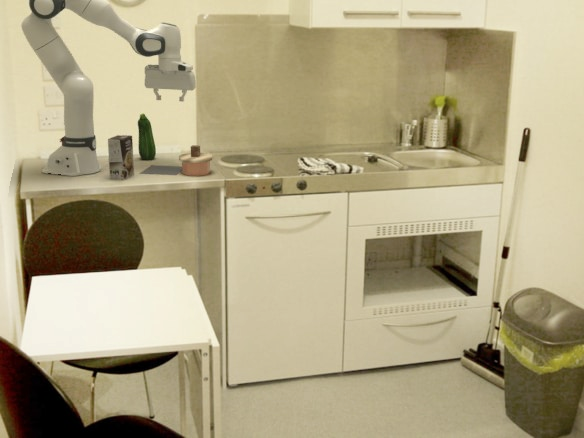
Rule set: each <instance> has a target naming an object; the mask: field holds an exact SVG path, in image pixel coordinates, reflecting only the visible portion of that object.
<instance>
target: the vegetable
mask: <svg viewBox="0 0 584 438" xmlns="http://www.w3.org/2000/svg"><path fill="white" fill-rule="evenodd" d="M137 127H138V153H139V156H140V158H141V160H144V161H152V160H154V159H156V158H155V157H156V154H157V153H156V152H157V151H156V150H157V149H156V144H155V139H154V133H153V128H152V124H151V121H150V120H149V119H148V117H147V116H146V114H145V113H141V114H139V119H138V120H137Z"/></svg>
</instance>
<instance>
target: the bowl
mask: <svg viewBox="0 0 584 438" xmlns="http://www.w3.org/2000/svg"><path fill="white" fill-rule="evenodd" d="M181 164H182V165H181V166H182V171H181V172H182V174H183V175H186V176H194V177H201V176H207V175H208V174H210V173H211V165H210V164H211V161H208V162H201V163H188V162H182V161H181Z"/></svg>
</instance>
